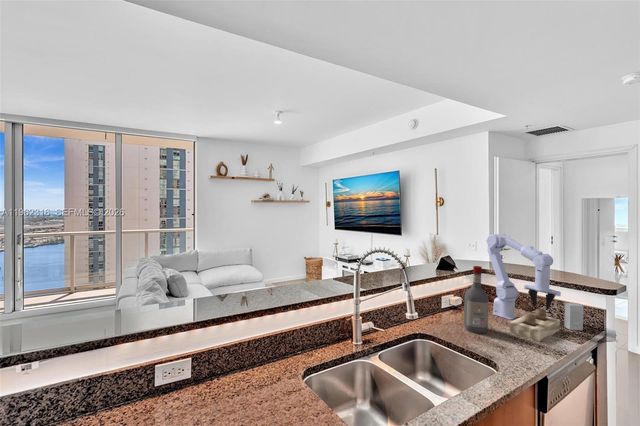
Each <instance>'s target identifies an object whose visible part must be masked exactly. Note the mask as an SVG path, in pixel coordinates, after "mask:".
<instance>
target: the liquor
mask: <svg viewBox="0 0 640 426" xmlns="http://www.w3.org/2000/svg"><path fill="white" fill-rule="evenodd" d="M482 269H483V267H482V266H480V265H479V266H478V265H473V268H472V270H473V271H472V274H473V277H472V284H471V286H470V288H468V289H467V290H466V291H465V292H464V300H463V301H464V302H463V304H464V305H463V326H464V328H465V329H466V331H468V332H471V333H475V334H477V333H478V334H486V333H487V331H488V327H489V326H488V324H489V304H490V303H489V302H490V301H489V299H490V298H489V295H488V294H487V293H486V291H484V289H483V288H482V286H483V285H482Z"/></svg>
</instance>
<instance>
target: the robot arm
mask: <svg viewBox="0 0 640 426" xmlns="http://www.w3.org/2000/svg"><path fill="white" fill-rule="evenodd" d="M485 241H486V243H487V253H488V256H489V259H490V260H489V261H490V262H491V266H492V268H493V271H494V275H495V277H496V280H497V284H496V285H495V289H496V291H495V292H496V297H495V298H494V300H493V309H492V310H493V311H492V315H494V316H497V317H501V318H504V319H508V320H512V321H513V319H514V320H515V319H517V318H519V317H518V315H515V313H516V312H515V311H516V300H517V298H518V297H519V295H520V293H519V290H518V288H517V287H516V286H515V283H513V282H512V281H511V280H510V278H509V275H508V272H507V269H506V266H505V264H504V261H503V258H502V255H501V251H502V249H503V248H505V247H506V246H508V247H510V248H512V249H514V250H516V251H518V252H520V254H521V256H522V257H524V258H526V259H528V260H529V261H531V262H533V264H534V268H535V273H534V276H535V277H534V285H529V284H524V287H523V288H524V290H528V291H527V294H528V295H529V297H530V298H531V299H530V300H531V302H532V306H533V307H536V306H537V302H538V301H537V298H538V292H539V293H542V294H545V300H546V301H545V309H546V310H550V307H551V304H552V302H553V301H554V299H555V297H561V296H562V295H561V293H562V292H561V291H559V290H556V289H550V277H551V266H552V265H553V263H554V258H553V257H552V255H550V254H549V253H543V251H540V250H537V249H535V248H534V246H532V245H526V246H525V245H524V244H521V243H520V242H519V241H516V240H515V239H513V238H512V237H511V236H510V235H507V234H505V233H500V234H489V235H488V236H487V238H486V240H485Z"/></svg>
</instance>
